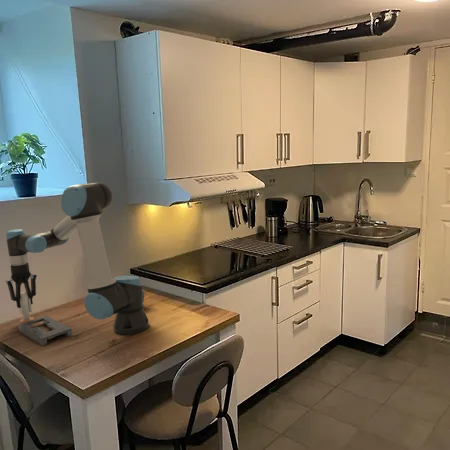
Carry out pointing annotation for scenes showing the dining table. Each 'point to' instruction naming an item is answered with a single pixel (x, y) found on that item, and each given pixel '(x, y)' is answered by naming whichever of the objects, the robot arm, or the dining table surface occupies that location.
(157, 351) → the dining table surface
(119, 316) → the robot arm
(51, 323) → the keyhole plate
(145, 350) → the dining table surface
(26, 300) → the peg
